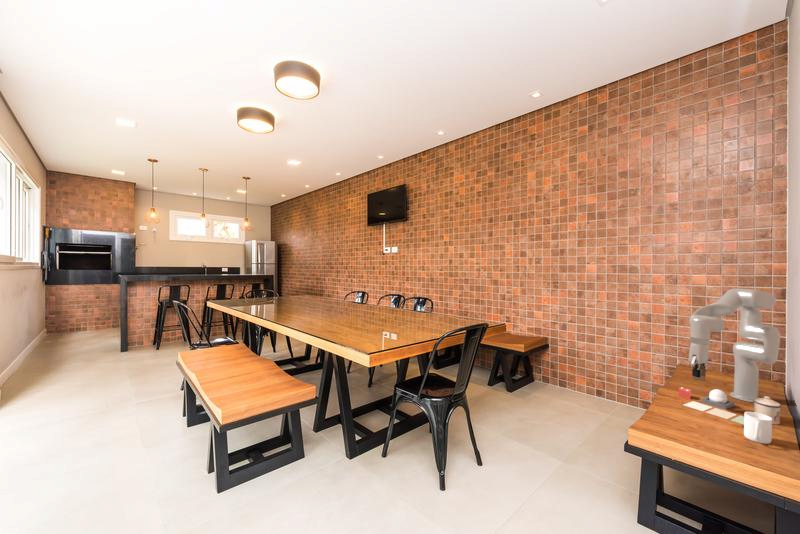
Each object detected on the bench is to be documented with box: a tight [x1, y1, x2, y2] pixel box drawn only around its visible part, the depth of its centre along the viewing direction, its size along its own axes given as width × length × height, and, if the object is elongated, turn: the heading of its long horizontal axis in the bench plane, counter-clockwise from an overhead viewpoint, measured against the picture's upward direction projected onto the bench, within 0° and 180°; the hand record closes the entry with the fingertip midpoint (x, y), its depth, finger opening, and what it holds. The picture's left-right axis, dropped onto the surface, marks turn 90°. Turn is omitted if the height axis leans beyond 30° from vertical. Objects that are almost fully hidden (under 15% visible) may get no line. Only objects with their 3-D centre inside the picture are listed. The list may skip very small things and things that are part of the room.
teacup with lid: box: [753, 395, 782, 426], centre depth 167 cm, size 12×9×12 cm
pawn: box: [692, 364, 706, 382], centre depth 179 cm, size 5×5×9 cm
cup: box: [743, 411, 773, 445], centre depth 147 cm, size 8×12×10 cm
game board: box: [683, 400, 744, 428], centre depth 171 cm, size 13×30×1 cm, turn 27°
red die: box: [678, 386, 692, 400], centre depth 192 cm, size 5×5×6 cm
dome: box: [708, 388, 728, 404], centre depth 182 cm, size 7×7×7 cm
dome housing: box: [701, 395, 736, 410], centre depth 182 cm, size 10×10×3 cm
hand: (698, 375), depth 179 cm, fingers closed on pawn, 4 cm apart
